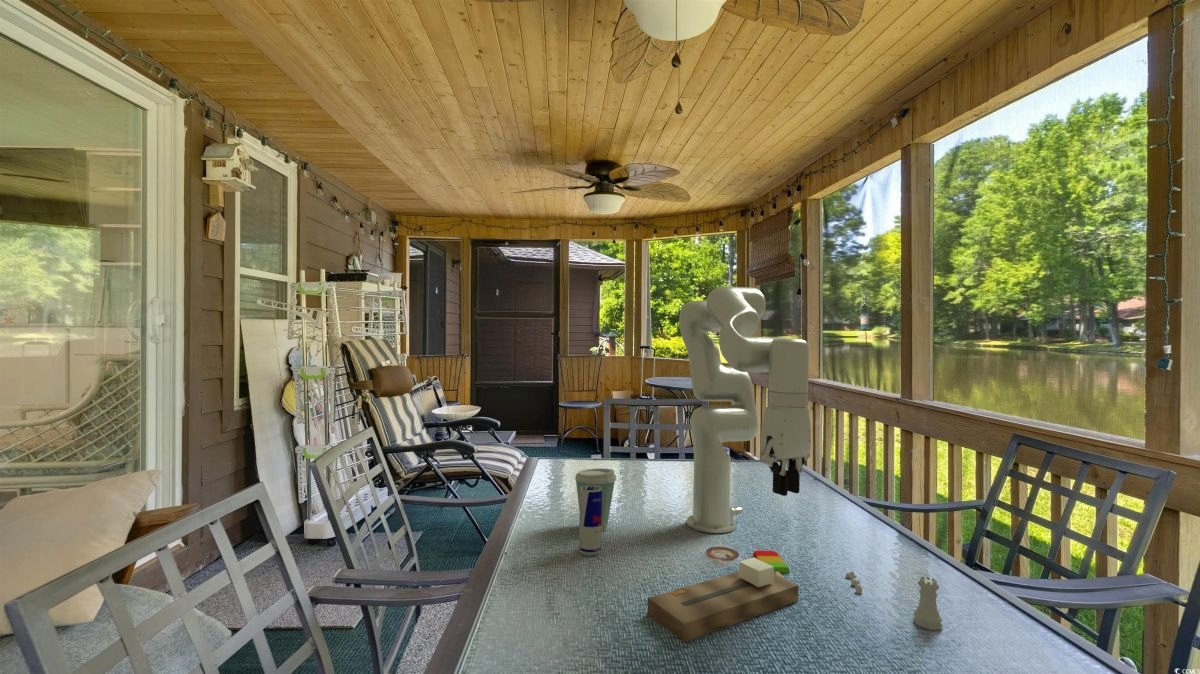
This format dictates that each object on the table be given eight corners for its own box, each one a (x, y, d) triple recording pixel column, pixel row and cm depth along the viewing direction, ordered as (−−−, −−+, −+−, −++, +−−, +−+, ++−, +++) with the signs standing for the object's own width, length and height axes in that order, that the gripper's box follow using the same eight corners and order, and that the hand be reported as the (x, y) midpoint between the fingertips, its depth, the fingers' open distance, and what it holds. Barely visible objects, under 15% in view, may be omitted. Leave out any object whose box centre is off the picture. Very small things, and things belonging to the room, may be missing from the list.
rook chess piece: (907, 618, 98) (908, 574, 98) (930, 617, 99) (931, 573, 99) (924, 632, 94) (925, 585, 94) (948, 631, 94) (949, 584, 94)
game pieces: (845, 577, 115) (845, 568, 115) (855, 578, 115) (855, 569, 115) (852, 594, 108) (852, 585, 108) (864, 596, 107) (864, 586, 107)
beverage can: (598, 557, 123) (599, 491, 122) (576, 555, 124) (577, 489, 123) (603, 549, 127) (604, 484, 127) (581, 547, 129) (582, 483, 128)
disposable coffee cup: (567, 531, 138) (568, 472, 138) (584, 518, 148) (585, 463, 148) (606, 538, 134) (607, 477, 134) (621, 524, 144) (622, 467, 144)
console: (757, 580, 113) (758, 565, 113) (798, 601, 104) (798, 584, 104) (647, 614, 98) (647, 597, 98) (683, 641, 90) (684, 623, 90)
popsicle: (775, 558, 126) (776, 550, 126) (798, 588, 111) (798, 579, 111) (751, 557, 126) (751, 549, 126) (771, 588, 111) (771, 578, 111)
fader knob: (753, 572, 108) (753, 557, 108) (773, 582, 104) (773, 566, 104) (738, 576, 106) (739, 561, 106) (758, 587, 102) (759, 571, 102)
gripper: (799, 396, 117) (797, 483, 117) (744, 400, 108) (742, 493, 108) (830, 400, 110) (828, 492, 110) (774, 405, 102) (772, 504, 102)
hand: (785, 492), depth 109 cm, fingers open, 2 cm apart
